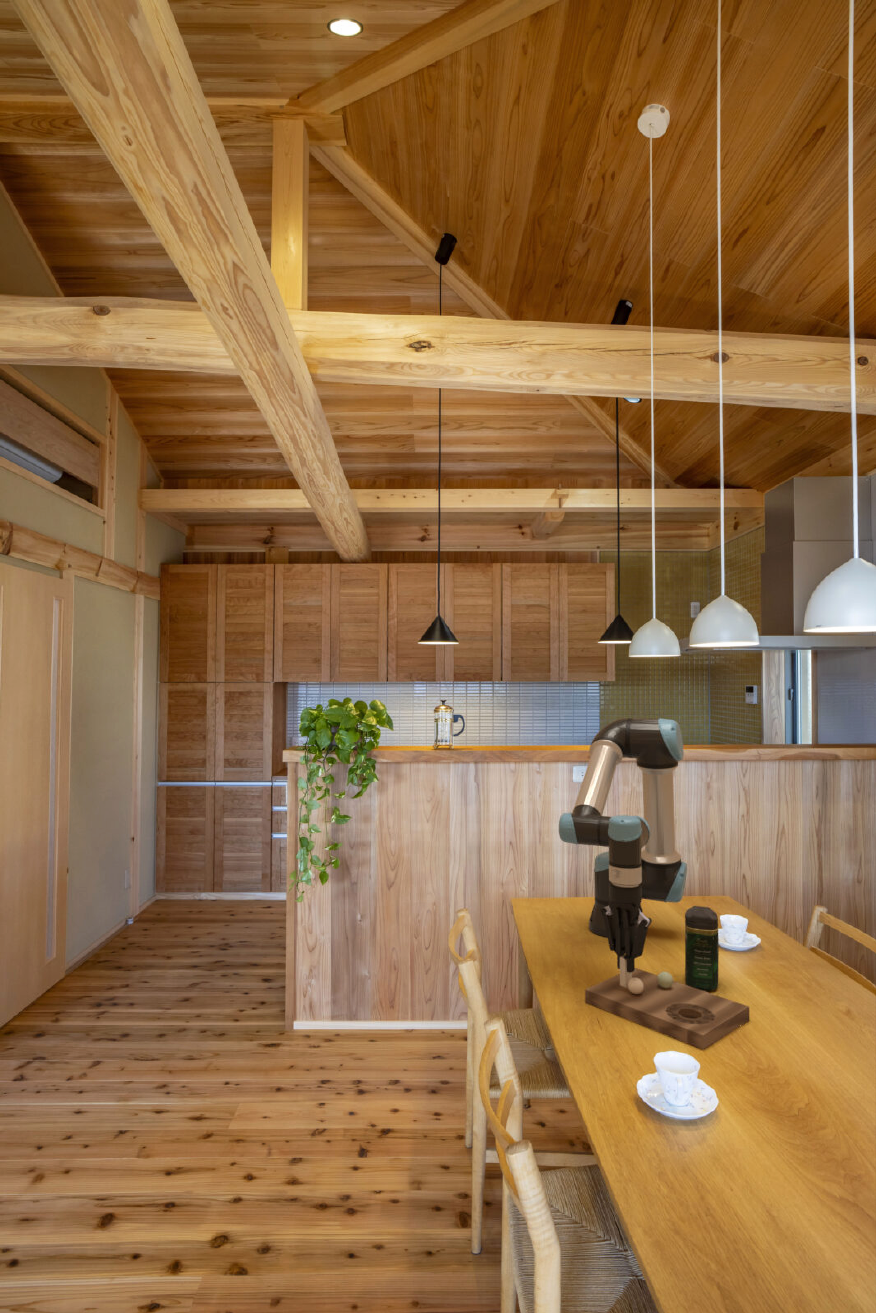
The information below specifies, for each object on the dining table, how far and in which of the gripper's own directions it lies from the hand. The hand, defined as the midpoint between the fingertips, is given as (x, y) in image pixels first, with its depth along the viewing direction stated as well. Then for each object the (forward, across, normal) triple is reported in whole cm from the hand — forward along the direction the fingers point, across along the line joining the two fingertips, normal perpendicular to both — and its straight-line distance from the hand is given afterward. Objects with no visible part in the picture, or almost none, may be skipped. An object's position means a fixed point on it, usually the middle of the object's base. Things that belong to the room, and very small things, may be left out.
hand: (626, 984), depth 176 cm
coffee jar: (+5, +6, +23) cm, 25 cm away
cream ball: (0, +3, 0) cm, 3 cm away
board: (+4, +8, +3) cm, 10 cm away
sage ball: (0, +5, +8) cm, 10 cm away
